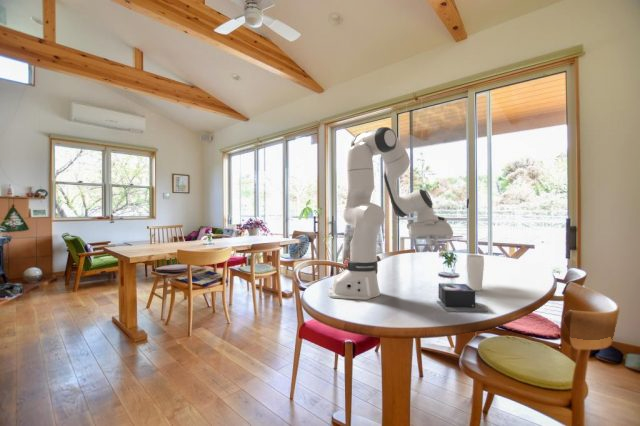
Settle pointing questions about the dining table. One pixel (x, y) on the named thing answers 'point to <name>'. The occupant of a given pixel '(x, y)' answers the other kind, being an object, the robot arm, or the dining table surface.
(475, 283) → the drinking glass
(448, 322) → the dining table surface
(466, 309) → the mat
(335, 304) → the dining table surface
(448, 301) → the small box
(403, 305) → the dining table surface
